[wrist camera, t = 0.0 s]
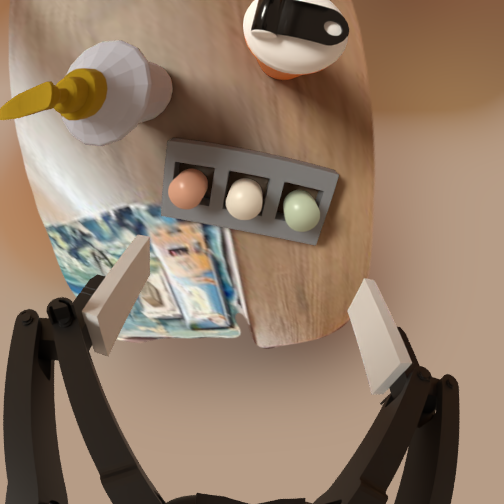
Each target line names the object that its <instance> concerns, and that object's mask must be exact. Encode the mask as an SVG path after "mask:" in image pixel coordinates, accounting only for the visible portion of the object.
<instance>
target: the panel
mask: <svg viewBox="0 0 504 504" xmlns="http://www.w3.org/2000/svg"><path fill="white" fill-rule="evenodd" d="M180 163H187V164H194V165H200V166H206V167H212V168H215V172H214V178H213V184H212V191H211V197H210V199H208V198H202V200H201V202H200V203H199V204H198V205H197V206H196V207H194V208H192V209H181V208H178V207H177V206H175V205H174V204H173V203H172V202H171V200H170V198H169V195H168V189H169V185H170V183H171V182H172V181H173V180H174V179H175V178H176V177H177V176H178V175H179V167H180ZM230 171H235V172H240V173H245V174H250V175H255V176H260V177H265V178H269V180H268V185H267V189H266V193H265V198H264V202H263V206H262V209H261V211H260V213H259V214H258V215H257V216H256V217H254V218H252V219H250V220H240V219H237V218H235V217H233V216H232V215H231V214H230V213H229V212H228V210H227V207H226V202H225V198H226V192H227V186H228V181H229V175H230ZM338 177H339V174H338V173H337V172H336V171H335V170H333V169H329V168H326V167H322V166H318V165H314V164H311V163H307V162H303V161H299V160H295V159H290V158H286V157H282V156H277V155H273V154H268V153H263V152H259V151H254V150H249V149H243V148H238V147H232V146H227V145H221V144H214V143H208V142H201V141H194V140H187V139H179V138H172V139H170V140H168V141H167V149H166V159H165V168H164V179H163V192H162V207H161V216H165V217H171V218H177V219H182V220H188V221H193V222H199V223H204V224H209V225H215V226H220V227H225V228H231V229H236V230H241V231H246V232H251V233H256V234H261V235H266V236H271V237H276V238H281V239H286V240H291V241H296V242H301V243H306V244H311V245H316V244H317V241H318V238H319V235H320V232H321V229H322V226H323V223H324V220H325V217H326V215H327V212H328V208H329V205H330V202H331V199H332V196H333V193H334V190H335V187H336V184H337V180H338ZM284 182H288V183H292V184H297V185H301V186H305V187H309V188H313V189H317V190H318V194H317V197H316V200H315V202H316V204H317V206H318V208H319V211H320V219H319V222H318V223H317V225H316V226H315V227H314V228H312V229H311V230H309V231H305V232H299V231H295V230H293V229H291V228H290V227H289V226H288V224H287V223H286V220H285V215H284V213H279V212H277V209H278V205H279V201H280V197H281V193H282V189H283V185H284Z"/></svg>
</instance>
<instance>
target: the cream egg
mask: <svg viewBox="0 0 504 504" xmlns="http://www.w3.org/2000/svg"><path fill="white" fill-rule="evenodd" d="M226 207H227V210H228V212H229V213H230V214H231V215H232V216H233V217H235V218H237V219H240V220H250V219H252V218H254V217H256V216H257V215H258V214H259V213H260V211H261V209H262V189H261V187H260V185H259V184H258V183H257V182H256V181H255V180H253V179H250V178H242V179H239V180H237V181H235V182H234V183H233V184H232V186H231V188H230V190H229V193H228V196H227V199H226Z"/></svg>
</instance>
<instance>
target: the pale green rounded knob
mask: <svg viewBox="0 0 504 504" xmlns="http://www.w3.org/2000/svg"><path fill="white" fill-rule="evenodd" d="M283 209H284V215H285V220H286V223H287V224H288V226H289V227H290V228H291V229H293V230H295V231H299V232H305V231H309V230H311V229H312V228H314V227H315V226H316V225H317V223H318V222H319V219H320V211H319V208H318V206H317V204H316V202H315V200H314V198H313V196H312V195H311V194H310V193H309V192H307V191H304V190H295V191H292V192H290V193H289V194H288V195H287V196H286V197H285V199H284V202H283Z"/></svg>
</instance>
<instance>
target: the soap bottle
mask: <svg viewBox="0 0 504 504" xmlns="http://www.w3.org/2000/svg"><path fill="white" fill-rule="evenodd" d="M172 91H173V87H172V82H171V77H170V76H169V75H168V73H167V72H166V70H165V69H164V68H162V67H161V66H159V65H157V64H155V63H152V62H148V61H147V59H146V58H145V56H144V55H143V54H142V52H141V51H140V49H139V48H137V47H135V46H133V45H131V44H129V43H126V42H124V41H121V40H118V41H103V42H101V43H99V44H97V45H95V46H93V47H91V48H89V49H87V50H85V51H84V52H83V53H82V54H81V55H80V56H79V57H78V58H77V59H76V61H75V62H74V63H73V64H72V65H71V66H70V68H69V70H68V72H67V74H66V76H65V77H64V79H62V80H61V81H59V82H58V83H57V85H56V86H55V85H53V83H52V82H45V83H43V84H40V85H38V86H36V87H33V88H31V89H29V90H26V91H25V92H22V93H20V94H18V95H17V96H15V97H14V98H12V99H11V100H10V101H8V102H7V103H6V104H5V105H3V106H2V107H1V109H0V120H7V119H16V118H21V117H24V116H27V115H31V114H34V113H37V112H40V111H43V110H48V109H52V108H54V109H55V110H56V111H57V112H59V113H60V114H61V116H62V120H63V122H64V124H65V125H66V127H67V128H68V130H69V132H70V133H71V135H72V136H73V137H75V138H76V139H78V140H79V141H81V142H83V143H84V144H86V145H95V146H105V145H107V144H110V143H113V142H116V141H119V140H122V139H123V138H124V137H125V136H126V135H127V134H128V133H130V132H131V131H132V130H133V129H134V128H135V127H137V125H138V123H141V122H145V121H148V120H151V119H154V118H155V117H156V116H158V115H159V114H160V113H162V112H163V111H164V110H165V108H166V106H167V105H168V103H169V102H170V100H171V95H172Z"/></svg>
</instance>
